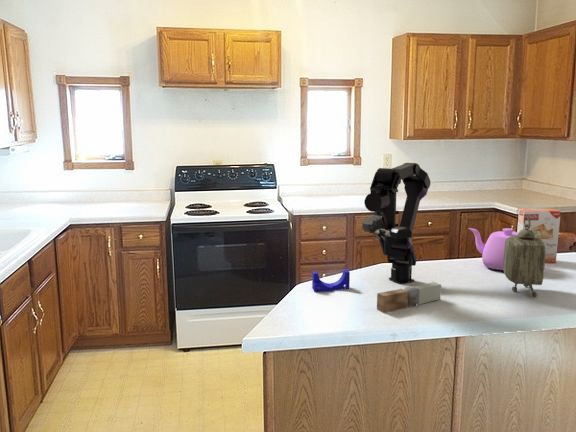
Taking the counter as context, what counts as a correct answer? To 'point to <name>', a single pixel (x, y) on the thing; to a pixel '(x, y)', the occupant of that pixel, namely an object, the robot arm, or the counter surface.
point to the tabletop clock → (524, 259)
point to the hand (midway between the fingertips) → (385, 254)
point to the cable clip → (328, 287)
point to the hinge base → (394, 300)
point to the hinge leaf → (424, 292)
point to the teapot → (493, 247)
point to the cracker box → (543, 228)
